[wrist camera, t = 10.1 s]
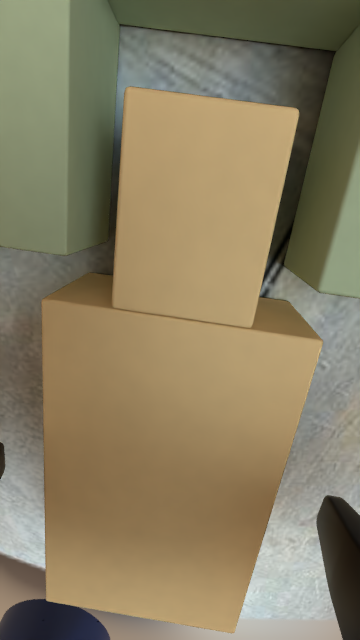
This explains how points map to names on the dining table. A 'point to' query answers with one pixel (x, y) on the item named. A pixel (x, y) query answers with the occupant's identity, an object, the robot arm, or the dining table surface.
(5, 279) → the dining table surface
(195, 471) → the sand pad
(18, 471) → the dining table surface
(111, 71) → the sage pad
